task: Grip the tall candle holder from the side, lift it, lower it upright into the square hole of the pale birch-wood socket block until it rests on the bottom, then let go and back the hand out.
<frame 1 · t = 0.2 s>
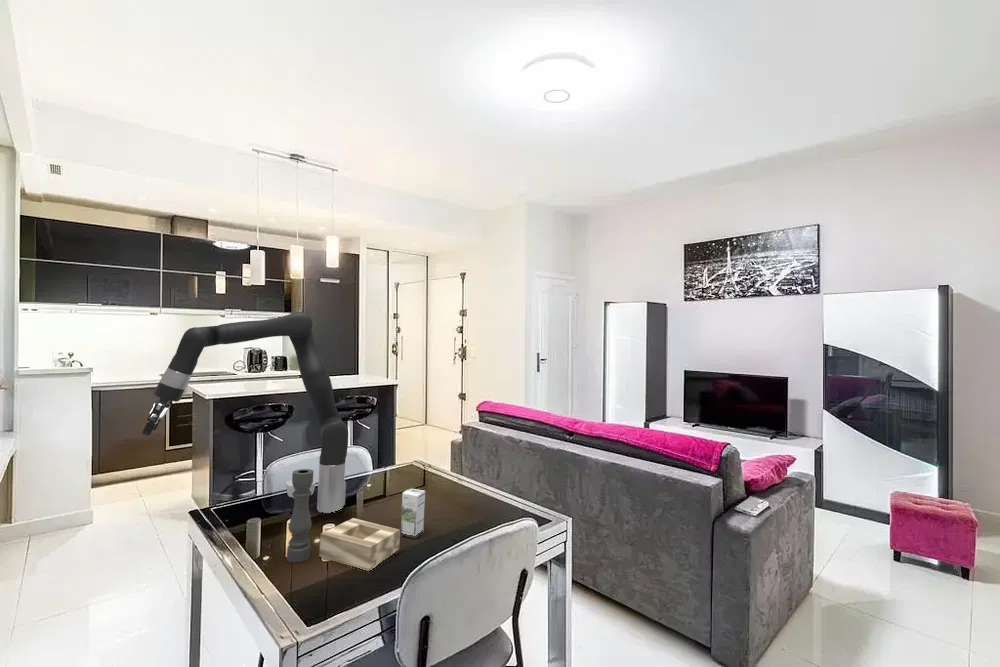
hand: (148, 431, 151), 31 cm above the table, tool tilted 20°, fingers open, 8 cm apart
ramekin: (300, 495, 191), on the table
candle holder: (298, 558, 138), on the table
socket block: (359, 555, 141), on the table
syrup box: (411, 535, 158), on the table
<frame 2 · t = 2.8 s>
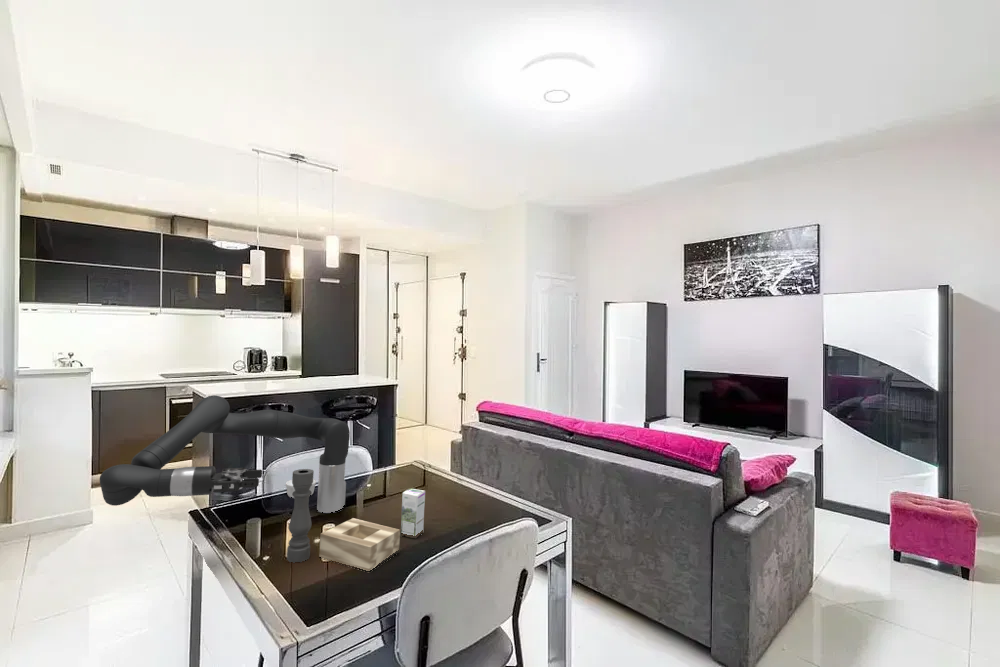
hand: (260, 477, 134), 24 cm above the table, tool horizontal, fingers open, 8 cm apart
nothing on the table moved.
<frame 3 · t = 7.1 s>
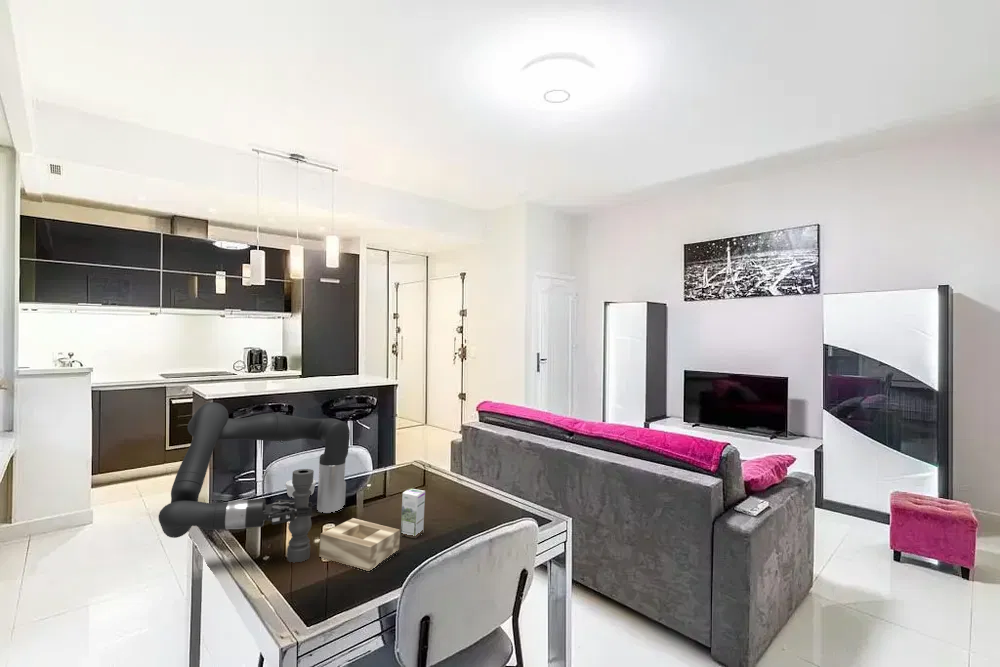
hand: (311, 508, 139), 14 cm above the table, tool horizontal, fingers closed on candle holder, 3 cm apart
candle holder: (298, 558, 138), on the table, touching gripper
everything else where it was.
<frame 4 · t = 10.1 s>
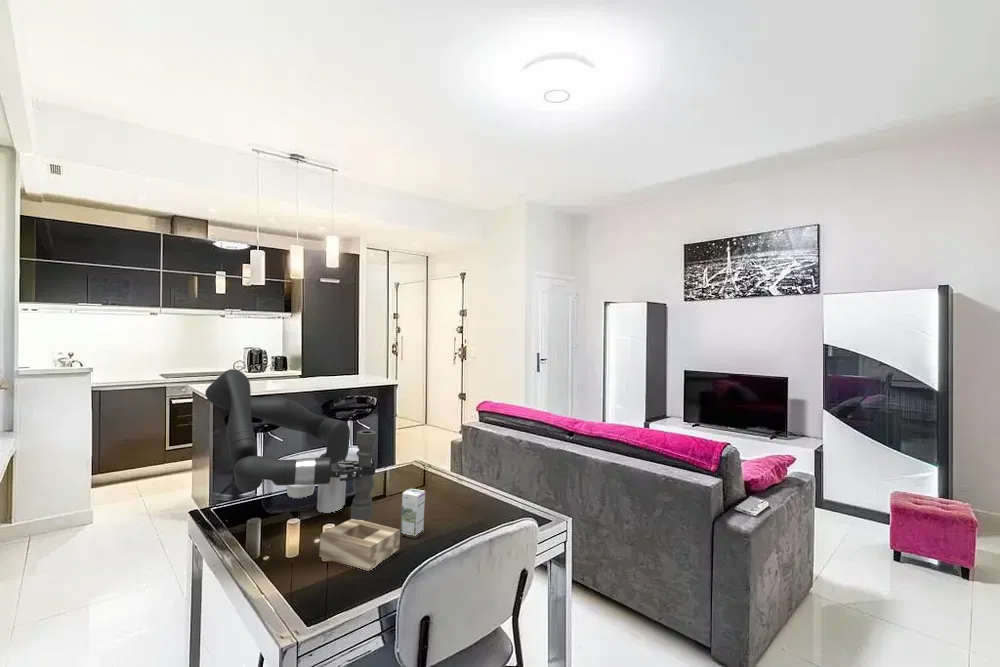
hand: (373, 468, 143), 26 cm above the table, tool horizontal, fingers closed on candle holder, 3 cm apart
candle holder: (361, 516, 141), point 11 cm above the table, touching gripper
everything else where it was.
when the fingers open (16 cm above the table, at t = 13.2 s): candle holder stays where it is, resting on socket block.
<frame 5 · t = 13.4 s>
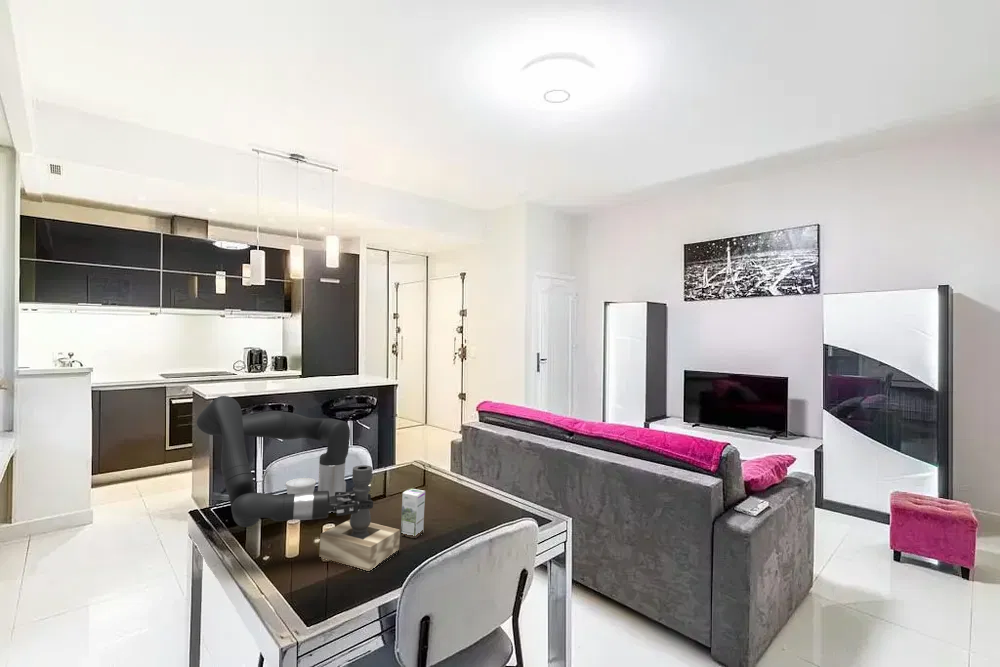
hand: (371, 500, 142), 16 cm above the table, tool horizontal, fingers open, 5 cm apart
candle holder: (359, 552, 141), point 1 cm above the table, touching socket block
everything else where it was.
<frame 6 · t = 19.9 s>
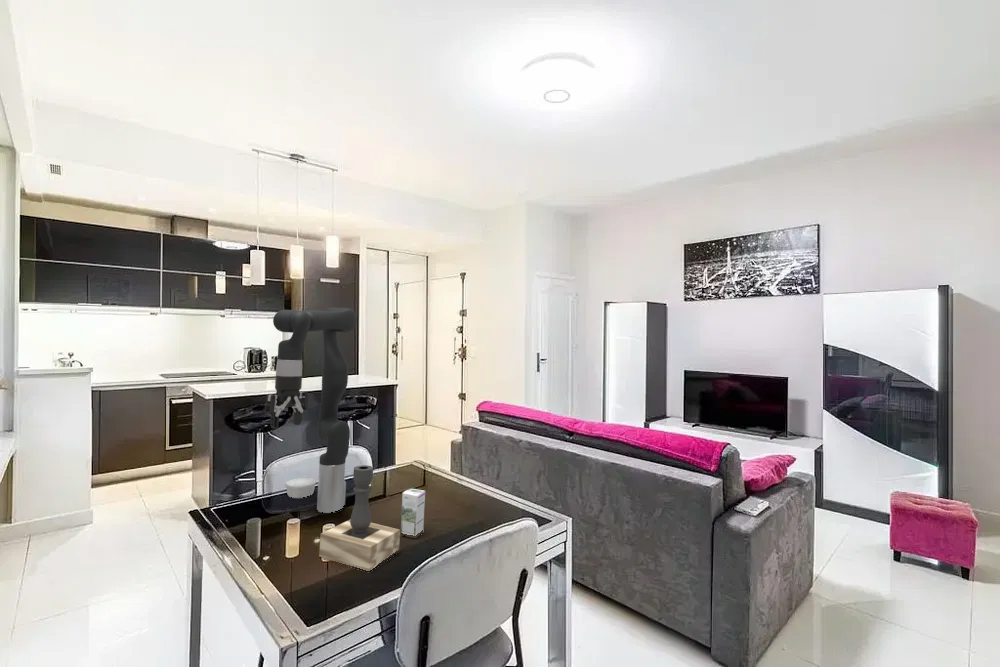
hand: (286, 426, 147), 36 cm above the table, tool pointing down, fingers open, 8 cm apart
nothing on the table moved.
at the end: candle holder 0.2 cm off-centre on the socket block, point 0.8 cm above the socket block's base; candle holder tilted 0°; the gripper is holding nothing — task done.
